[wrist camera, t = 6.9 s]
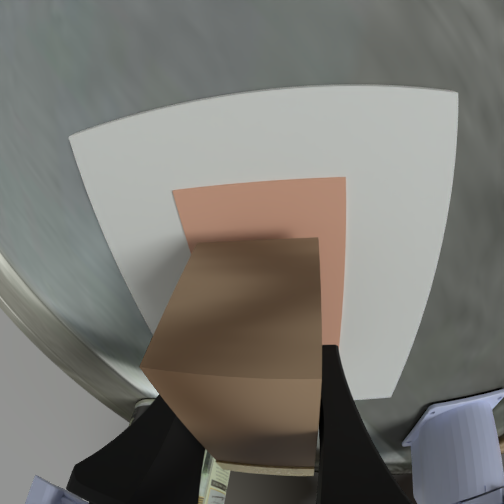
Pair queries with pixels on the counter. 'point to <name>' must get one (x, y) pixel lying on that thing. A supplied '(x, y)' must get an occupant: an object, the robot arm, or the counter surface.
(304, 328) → the walnut block
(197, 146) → the mat
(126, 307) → the counter surface
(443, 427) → the robot arm
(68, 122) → the counter surface
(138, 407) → the coffee can
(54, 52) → the counter surface
